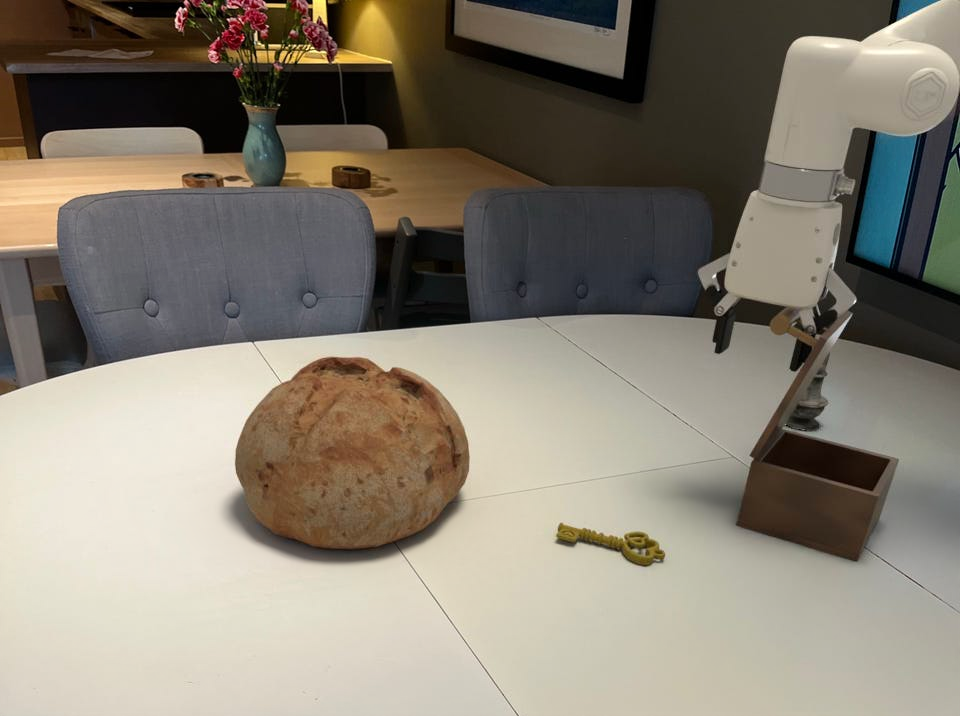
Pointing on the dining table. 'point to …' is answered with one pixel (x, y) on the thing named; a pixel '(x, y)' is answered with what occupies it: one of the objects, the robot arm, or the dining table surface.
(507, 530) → the dining table surface
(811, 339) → the lid
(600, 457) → the dining table surface
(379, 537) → the bread
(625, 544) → the key
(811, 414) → the salt shaker
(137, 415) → the dining table surface
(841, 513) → the box
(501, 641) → the dining table surface
